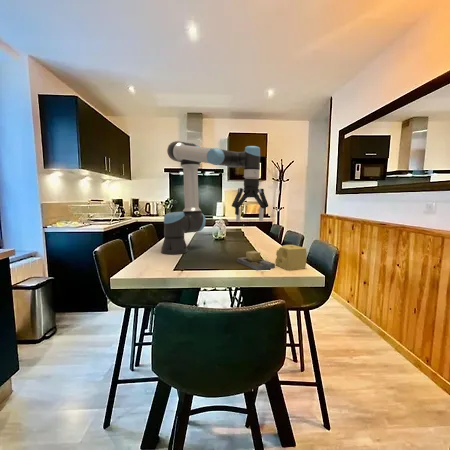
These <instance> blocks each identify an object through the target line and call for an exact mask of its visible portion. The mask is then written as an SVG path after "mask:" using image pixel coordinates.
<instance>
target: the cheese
mask: <svg viewBox="0 0 450 450" xmlns="http://www.w3.org/2000/svg"><path fill="white" fill-rule="evenodd" d="M307 252H308V251H307V248H306V247H303V246H299V245H295V244H284V245H282V246H280V247H279V248H278V249H277V250H276V254H275V255H276V258H275V263H274V264H275V267H278V268H279V267H280V268H281V269H284V270H286V271H295V270H303V269H306V265H307V257H308V256H307Z"/></svg>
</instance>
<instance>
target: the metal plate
mask: <svg viewBox="0 0 450 450" xmlns="http://www.w3.org/2000/svg"><path fill="white" fill-rule="evenodd" d="M236 262H237V263H239V264H241V265H244V266H246V267H248V268H251V269H253V270H256V271H264V270H270V269H275V268H276V263H273V262H271V261H268V260H266V259H263V258H260V261H257V262H249V261H246V256H244V257H243V256H242V257H236Z"/></svg>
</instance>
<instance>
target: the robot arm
mask: <svg viewBox="0 0 450 450" xmlns="http://www.w3.org/2000/svg"><path fill="white" fill-rule="evenodd" d="M166 152H167V156H168V157H169V159H171V160H172V161H174V162H178V163H180V166H181V167H180V168H182V170H183V193H184V196H183V197H184V208H183V210H182V211H173V212H167V213H166V214H164V216H163V235H164V237H163V238H164V239H163V242H162V245H161V251H160V253H162V254H164V255H181V254H182V255H183V254H186V253H188V245H187V243H186V240H185V234H188V233H197V232H200V231H203V229H204V228H205V226H206V224H207V223H206V216H205V215H204V214H203V213H202V209H201V208H200V207H199V205H200V204H199V200H200V199H199V176H198V170H199V169H198V168H200V166H201V163H204V164H210V165H212V166H213V165H214V166H224V167H227V168H234V169H235V168H242V167H243V169H244V170H243V178H244V179H243V187H238V188H237V192H236V195H235V197H234V199H233V201H232V204H231V207H232V208H233V209H235V210H234V215H235V216H236V217H235V218H236V219H235V221H236V222H238V223H240V222H241V209H242V208H241V206H242V205H243V204H244V203H245V201H246V200H247V198H253V199H255V200H256V202H257V203H258V205H259V206H260V207H259V209H258V210H259V213H258V221H259V222H263V221H264V215H265V213H266V209H267V208H268V207H269V203H268V201H267V198H266V195H265V190H264V188H259V185H260V179H259V178H260V165H261V147H259V146H256V145H247V146H245V147H244V150H243V151H233V150H226V149H222V148H217V147H214V148H212V147H204V146H200V145H199V144H197V143H192V142H185V141H179V140H177V141H176V140H175V141H172V142H170V144H168V146H167V149H166Z"/></svg>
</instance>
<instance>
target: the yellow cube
mask: <svg viewBox="0 0 450 450" xmlns="http://www.w3.org/2000/svg"><path fill="white" fill-rule="evenodd" d="M245 257H246V261H249V262H257V261H260V259H261V252H259V251H257V250H251V251H246V252H245Z"/></svg>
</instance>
